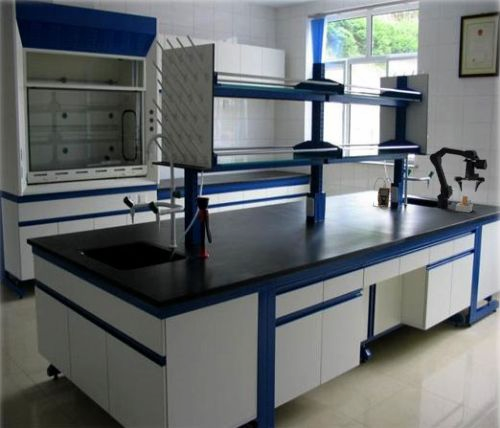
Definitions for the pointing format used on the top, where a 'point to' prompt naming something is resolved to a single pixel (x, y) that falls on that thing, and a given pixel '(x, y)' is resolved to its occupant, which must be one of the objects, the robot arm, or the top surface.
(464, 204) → the plug
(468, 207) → the socket block
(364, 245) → the top surface
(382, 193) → the multimeter
